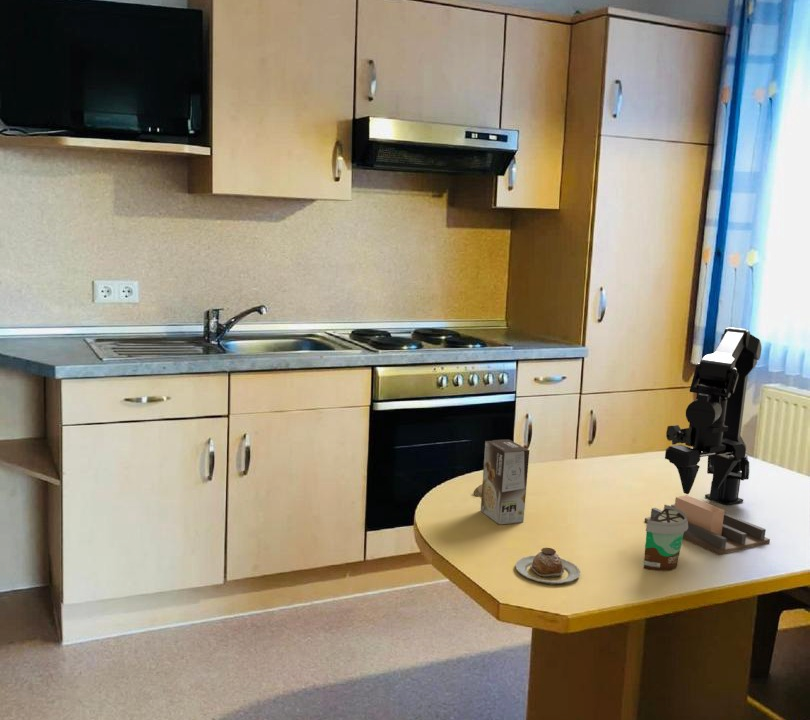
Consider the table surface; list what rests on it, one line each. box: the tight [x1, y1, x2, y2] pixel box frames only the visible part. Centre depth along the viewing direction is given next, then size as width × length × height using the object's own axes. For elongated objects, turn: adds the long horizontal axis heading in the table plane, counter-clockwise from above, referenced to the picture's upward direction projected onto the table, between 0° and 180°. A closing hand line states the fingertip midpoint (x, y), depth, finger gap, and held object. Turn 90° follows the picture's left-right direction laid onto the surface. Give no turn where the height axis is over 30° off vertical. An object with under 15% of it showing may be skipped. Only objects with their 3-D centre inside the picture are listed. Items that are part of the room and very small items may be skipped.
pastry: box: [514, 547, 581, 586], centre depth 164 cm, size 12×12×5 cm
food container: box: [643, 504, 688, 572], centre depth 170 cm, size 12×6×10 cm, turn 148°
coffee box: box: [480, 439, 530, 525], centre depth 190 cm, size 9×6×16 cm
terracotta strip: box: [674, 494, 725, 536], centre depth 187 cm, size 4×10×6 cm, turn 31°
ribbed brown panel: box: [644, 503, 771, 556], centre depth 189 cm, size 16×20×3 cm
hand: (701, 491), depth 186 cm, fingers open, 9 cm apart
